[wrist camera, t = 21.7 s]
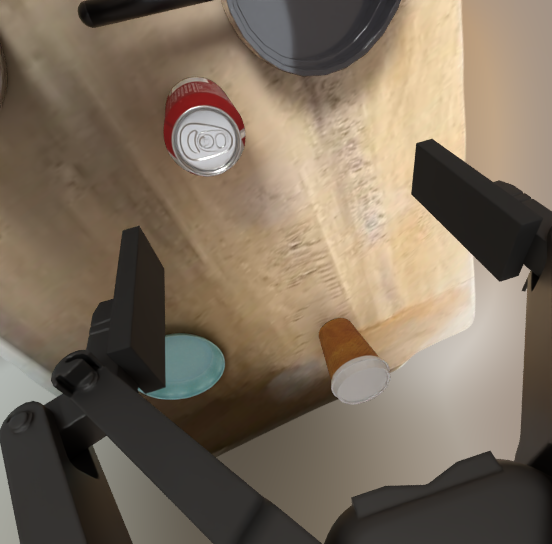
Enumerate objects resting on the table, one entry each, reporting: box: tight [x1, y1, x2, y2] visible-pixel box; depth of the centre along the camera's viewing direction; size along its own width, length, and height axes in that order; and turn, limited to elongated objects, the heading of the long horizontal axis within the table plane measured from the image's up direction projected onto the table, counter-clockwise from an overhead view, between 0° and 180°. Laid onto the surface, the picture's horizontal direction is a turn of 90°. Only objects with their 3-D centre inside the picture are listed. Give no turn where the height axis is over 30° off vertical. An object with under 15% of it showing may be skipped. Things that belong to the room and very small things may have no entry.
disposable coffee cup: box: [319, 318, 390, 404], centre depth 58 cm, size 10×10×12 cm
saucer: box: [138, 333, 225, 400], centre depth 57 cm, size 15×15×3 cm
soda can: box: [164, 77, 245, 176], centre depth 33 cm, size 7×7×12 cm
